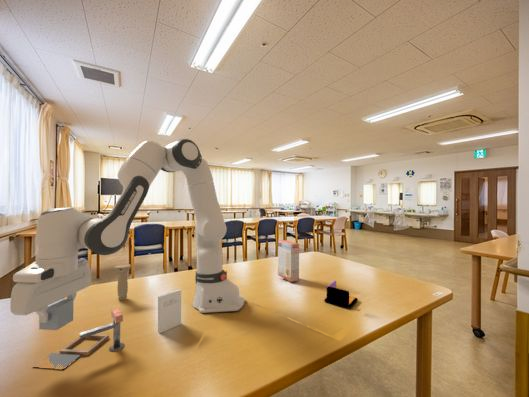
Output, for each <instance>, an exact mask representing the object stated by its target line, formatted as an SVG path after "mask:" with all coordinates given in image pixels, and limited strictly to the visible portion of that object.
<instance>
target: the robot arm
mask: <svg viewBox="0 0 529 397" xmlns="http://www.w3.org/2000/svg"><path fill="white" fill-rule="evenodd" d="M160 171H162V172H165V173H175V172H180V171H181V172H182V173H183V174H184V176H185V178H186V183H187V188H188V193H189V198H190V203H191V207H192V210H193V213H194V216H195V218H196V219H195V224H194V230H195V231H194V234H195V235H194V236H195V247H196V271H195V278H194V279H195V290H194V291H195V293H194V297H193V301H192V306H193V308H195V309H197V310H198V311H199V313H201V314H202V313H204V314H205V313H219V312H220V313H222V312H236V311H239V310H240V309H242V308H243V306H244V304H245V296H244V295H242V294H240V289H239V287H238V285H237V284H235V283H234V282H233V281H231V280H230V279H229V278H227V277H228V271H227V270H224V269H223V248H222V243H221V241H222V239H224V237H225V236H226V234H227V225H226V222H225V219H224V218H225V217H224V215H223V213H222V212H223V211H222V209H221V206H220V203H219V201H218V200H219V199H218V197H217V191H216V188H215V182H214V179H213V178H214V177H213V174H212V170H211V168H210V165H209V163H208V161H206V159H204V158H203V157H202V154H201V150H200V149H199V147H198V145H197V143H195V142H194V141H193V140H192V139H189V138H181V139H178V140H176V141H172V142H171V143H169V144H167V145H165V146H162V144H159V143H158V142H156V141H153V140H146V141H145V140H144V141H143V142H141V143H140V144H139V145H138V146H137V147H136V148H134V150H132V151H131V153H130V154H129V155H128V156H127V157H126V158H125V160H124V161H123V163H122V164H121V165H120V168H119V169H118V172H117V179H118V182H119V183H120V185H121V186H122V192H121V194H120V196H119V197H118V199H117V201H116V202H115V204H114V206H113V207H112V209H111V210H110V212H109V213H108V214H107V215H105V217H98V216H94V215H90V214H87V213H84V212H83V211H80V210H78V209H76V207H72V206H64V207H56V208H51V209H47V210H44V211H43V212H41V213H40V214H39V216H38V218H37V223H36V228H35V244H36V246H37V252H36V254H35V261H33V262H32V263H31V264H28V265H27V266H26V267H24V268H22V269H20V270H19V271H17V272H15V273H14V274H13V276H12V281H13V282H15V284H14V285H13V287H12V289H11V293H10V303H9V304H10V305H9V306H10V307H9V308H10V312H11V314H13V315H14V316H28V315H30V314H33V313H34V312H35V313H36V315H38V316H40V322H41V323H46V322H47V321H49V320H51V314H50V313H49V314H48V313H47V312H46V310H47V309H48V305H50V304H52V303H54V302H56V301H59V300H61V299H69V300H73V302H74V301H75V299H76V298H77V293H78V292H80V291H82V290H85V289H87V288H88V287H90V286H91V284H92V273H91V268H90V266H89V260H88V259H87V258H84V257H82V258H81V257H80V258H79V250H81V249H87V250H90V251H91V252H93V253H95V254H96V255H99V256H109V255H113V254H115V253H117V252H119V251H120V250H121V249H122V248H124V246H125V245H126V243H127V241H128V239H129V235H130V234H129V233H130V228H131V225H132V222H133V221H134V219H135V217H136V215H137V213H138V212H139V210H140V208H141V206H142V204H143V202H144V201H145V198H146V197H147V194H148V192H149V189H150V187H151V185H152V183H153V182H154V180H155V179H156V177H157V176H158V174H159V172H160Z"/></svg>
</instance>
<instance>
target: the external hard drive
mask: <svg viewBox="0 0 529 397" xmlns="http://www.w3.org/2000/svg"><path fill="white" fill-rule="evenodd" d="M181 324H182V289H180V288H179V289H173V290H171V291H169V292H165V293H162V294H159V295H157V333H159V334H161V333H162V334H163V333H164V332H167V331H168V330H171V329H173V328H175V327H178V326H180V325H181Z"/></svg>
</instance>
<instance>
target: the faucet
mask: <svg viewBox="0 0 529 397" xmlns="http://www.w3.org/2000/svg"><path fill="white" fill-rule="evenodd" d="M111 318H112V319H113V321H112V322H110V323H107V324H105V325H104V324H103V325H101V326H98V327H95V328H92V329H89V330H85V331H81V332H79V334H78V335H79V337H80V339H82V338H85V337H88V336H91V335H94V334H100V333H103V332H106V331H109V330H112V329H113V336H112V339H113V344H112V345H113V348H118V347H119V346H120V343H121V323H122V322H124V315H123V312H122V311H121V310H120V309H119V307H116V308H113V309H111ZM79 337H78V338H79Z"/></svg>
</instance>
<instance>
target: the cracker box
mask: <svg viewBox="0 0 529 397" xmlns="http://www.w3.org/2000/svg"><path fill="white" fill-rule="evenodd" d="M277 242H278V243H277V276H279V277H280V278H283V279H284V280H286V281H288V282H290V283H292V282H293V283H294V282H299V280H300V243H297V242H294V241H290V240H287V239H282V240H278V241H277Z"/></svg>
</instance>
